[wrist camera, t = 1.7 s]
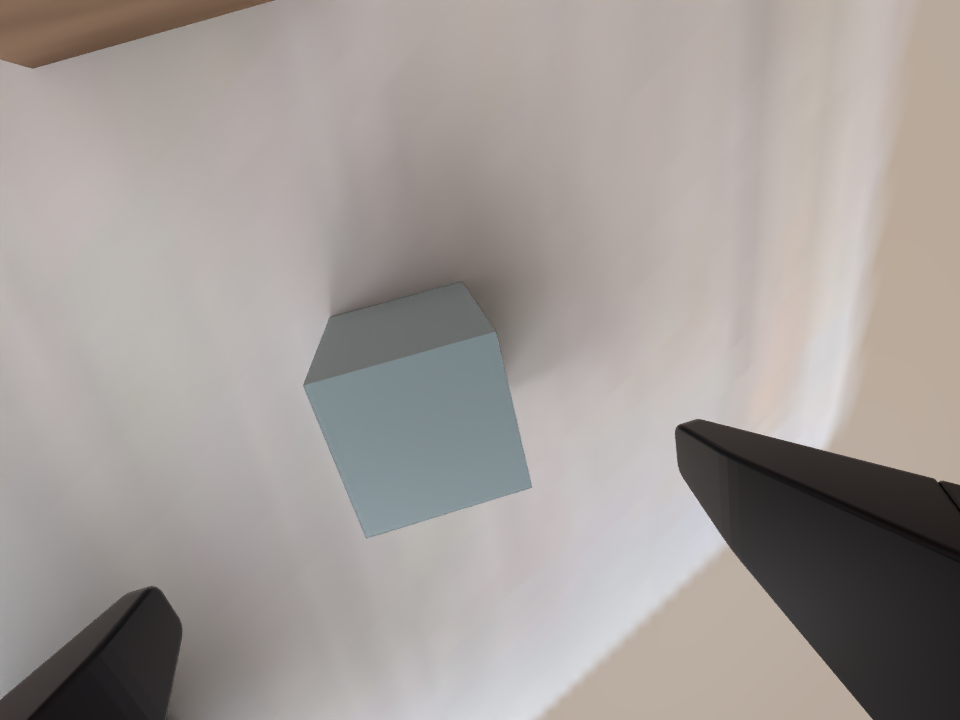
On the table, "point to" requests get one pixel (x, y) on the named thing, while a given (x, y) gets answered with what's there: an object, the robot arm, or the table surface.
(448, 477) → the block
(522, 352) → the table surface
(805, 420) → the table surface
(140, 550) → the table surface
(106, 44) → the base
